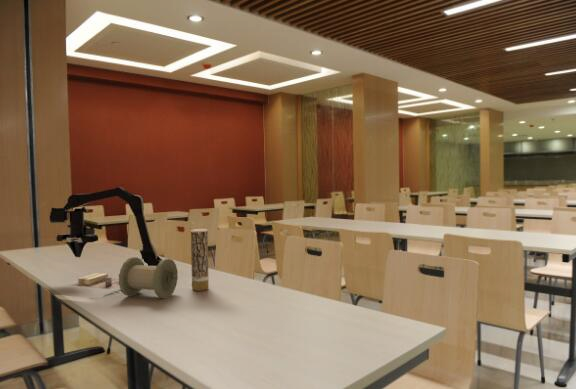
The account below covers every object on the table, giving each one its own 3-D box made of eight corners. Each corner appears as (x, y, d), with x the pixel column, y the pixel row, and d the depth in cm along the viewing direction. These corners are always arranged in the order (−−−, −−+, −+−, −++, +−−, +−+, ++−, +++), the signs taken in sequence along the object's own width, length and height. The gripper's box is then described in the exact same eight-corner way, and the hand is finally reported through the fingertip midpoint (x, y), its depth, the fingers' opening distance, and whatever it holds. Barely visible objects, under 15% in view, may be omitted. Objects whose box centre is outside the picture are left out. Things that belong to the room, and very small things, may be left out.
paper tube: (204, 291, 175) (203, 231, 174) (189, 291, 176) (188, 230, 175) (211, 287, 182) (210, 229, 181) (196, 287, 183) (194, 228, 182)
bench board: (132, 283, 191) (132, 272, 190) (108, 292, 177) (107, 280, 176) (97, 280, 197) (97, 269, 197) (71, 288, 183) (70, 276, 183)
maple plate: (108, 279, 193) (107, 273, 193) (89, 285, 182) (89, 279, 182) (97, 278, 195) (97, 273, 195) (78, 284, 184) (78, 278, 184)
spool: (177, 292, 175) (177, 256, 174) (157, 303, 160) (156, 263, 160) (142, 290, 179) (141, 254, 179) (119, 300, 165) (118, 261, 164)
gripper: (106, 221, 195) (107, 255, 196) (75, 220, 201) (76, 253, 202) (87, 223, 185) (88, 259, 185) (55, 222, 191) (56, 257, 191)
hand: (77, 257), depth 191 cm, fingers closed
